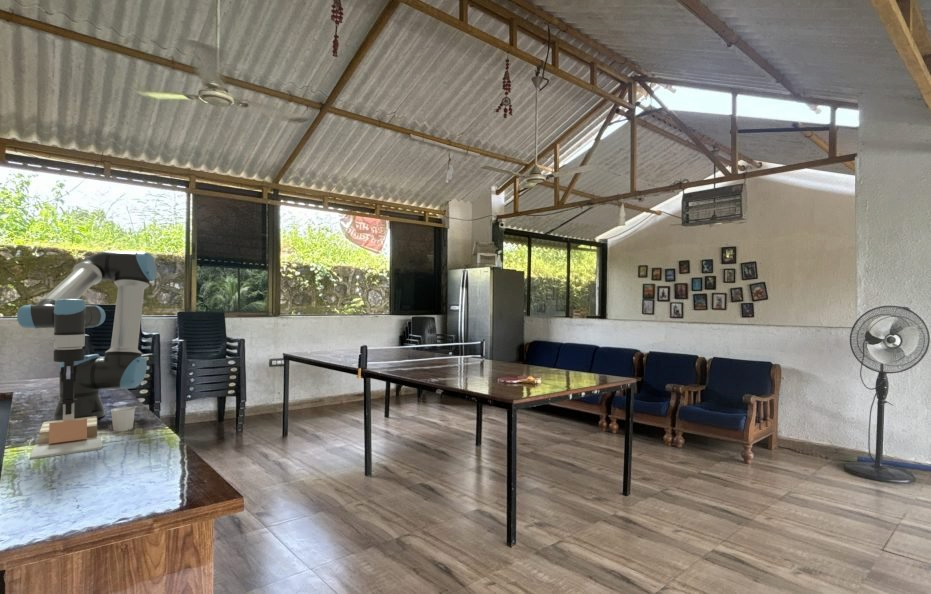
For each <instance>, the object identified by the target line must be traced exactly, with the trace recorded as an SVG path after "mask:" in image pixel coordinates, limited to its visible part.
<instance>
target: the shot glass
mask: <svg viewBox="0 0 931 594" xmlns="http://www.w3.org/2000/svg"><path fill="white" fill-rule="evenodd" d="M110 411H111V421H112V431H114V432H123V430H124V431H128V429H129V430H132V429H133V428H134V422H135V421H134V420H135V413H136V407H135V406H121V407H119V406H118V407H114V408H112V409H110Z"/></svg>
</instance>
